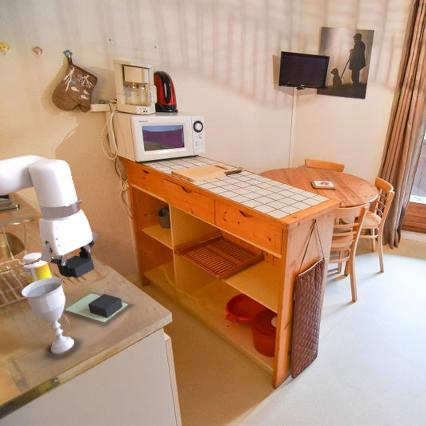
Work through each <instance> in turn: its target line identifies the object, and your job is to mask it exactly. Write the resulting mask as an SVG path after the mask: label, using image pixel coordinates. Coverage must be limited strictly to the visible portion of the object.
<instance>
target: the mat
mask: <svg viewBox="0 0 426 426" xmlns="http://www.w3.org/2000/svg"><path fill="white" fill-rule="evenodd" d="M100 296H101V295H98V294H96V293H95V294H94V293H91V292H90V293H89V294H87V295H86V296H84V297H82V298H81V299H79V300H78V301H76V302H74V303H72V304H71V305H69V306H68V307H66V308H64V311H66V312H71V313H72V314H76V315H79V316H83V317H86V318H89V319H92V320H95V321H98V322H102V323H105V322H107V321H108V320H109V319H111V318H112V317H113V316H115V315H116V314H117V313H119V312H120V311H122V310H124V309H125V308H126V307H127V306H128V305H129V304H128V303H126V302H123V301H122V306H123V307H122V308H120V309H119V310H118V311H116V312H115V313H114V314H112V315H111V316H109V317H108V318H106V317H103V316H99V315H96V314H93V313H90V309H89V305H88V304H89V303H91V302H92V301H94V300H95V299H97V298H98V297H100Z"/></svg>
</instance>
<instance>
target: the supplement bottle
mask: <svg viewBox="0 0 426 426" xmlns="http://www.w3.org/2000/svg"><path fill="white" fill-rule="evenodd" d="M41 255H42V253H41V252H31V253H28V254H26V255H24V256H23V261H24V262H23V263H22V265H24V264H26V263H30V262H32V261H35V260H37V259H38V258H40V257H41ZM48 263H49V262H44V261H39V262H36V263H33V264H29V265H24V266H22V269H23V272H24V275H25V278H26V281H27V283H28V285H30V284H31V283H33V282H36V281H38V280H41V279H45V278H51V277H53V276H52V273H51V270H50V266H49V264H48Z"/></svg>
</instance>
